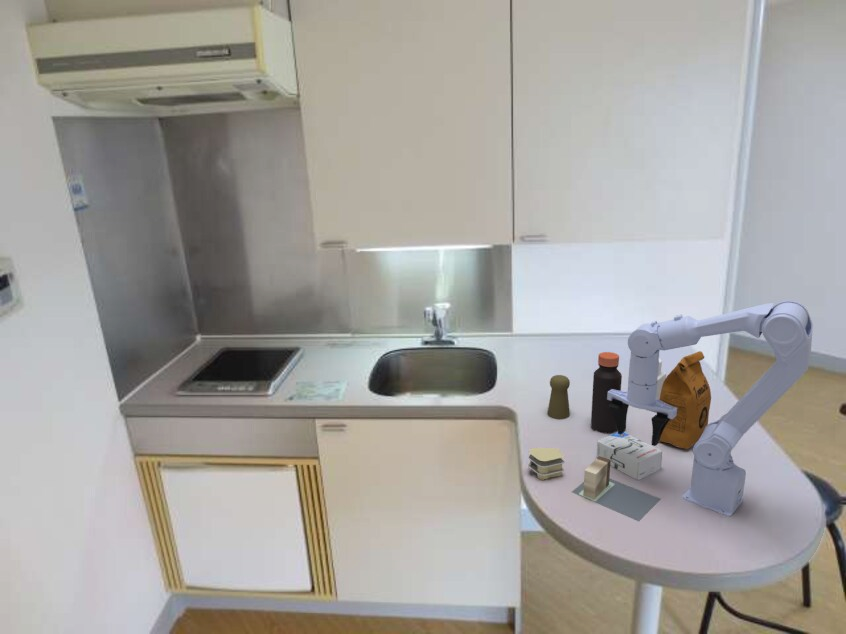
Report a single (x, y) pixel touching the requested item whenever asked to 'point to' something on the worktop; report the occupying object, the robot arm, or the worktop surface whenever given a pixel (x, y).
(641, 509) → the rubber mat
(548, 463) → the beige stacked block
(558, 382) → the olive pawn
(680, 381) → the coffee package
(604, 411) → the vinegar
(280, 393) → the worktop surface
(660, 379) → the medicine bottle
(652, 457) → the ink box
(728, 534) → the worktop surface
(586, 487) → the card case
